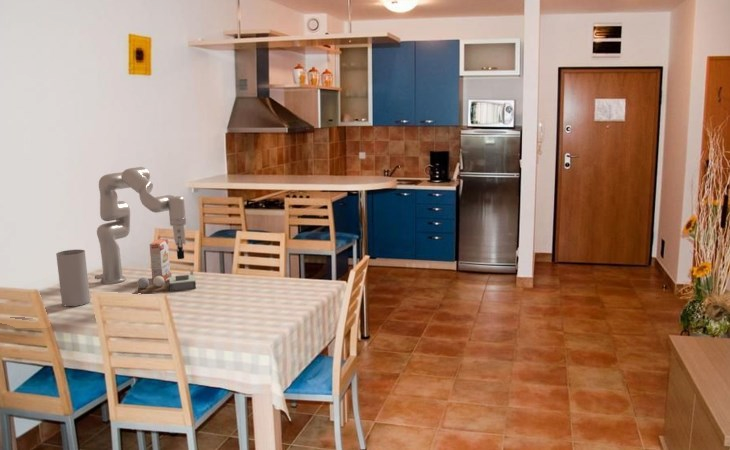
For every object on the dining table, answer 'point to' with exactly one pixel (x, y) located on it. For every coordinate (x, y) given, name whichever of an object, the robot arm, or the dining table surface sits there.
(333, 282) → the dining table surface
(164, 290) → the board
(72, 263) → the cylinder vase
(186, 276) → the lid
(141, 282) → the grey matte ball
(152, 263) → the cracker box
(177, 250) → the robot arm
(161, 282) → the cream matte ball
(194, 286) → the bin
